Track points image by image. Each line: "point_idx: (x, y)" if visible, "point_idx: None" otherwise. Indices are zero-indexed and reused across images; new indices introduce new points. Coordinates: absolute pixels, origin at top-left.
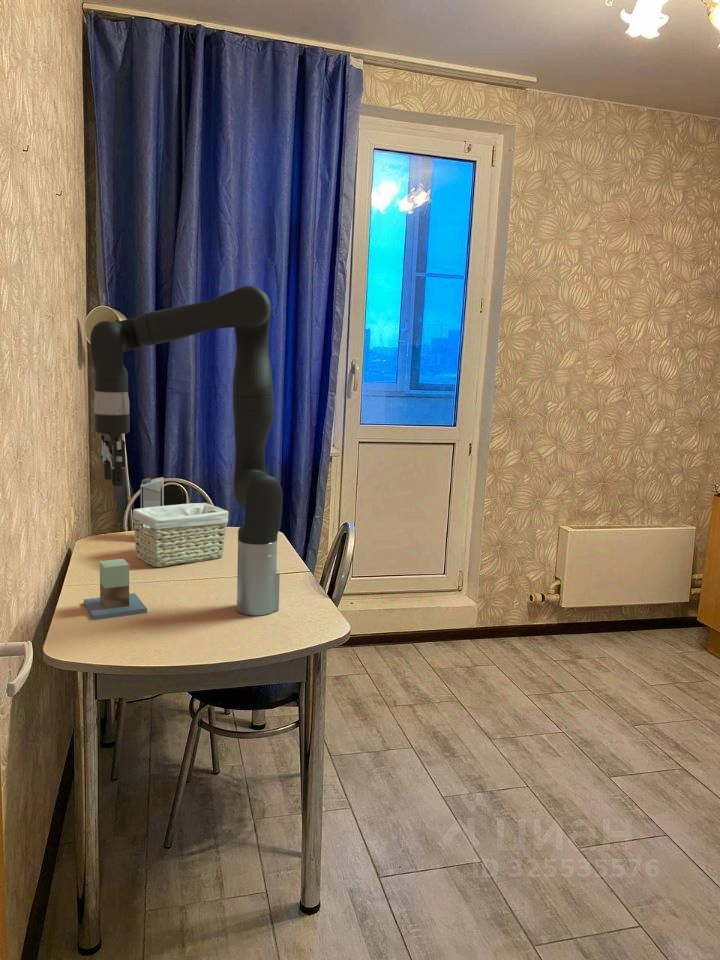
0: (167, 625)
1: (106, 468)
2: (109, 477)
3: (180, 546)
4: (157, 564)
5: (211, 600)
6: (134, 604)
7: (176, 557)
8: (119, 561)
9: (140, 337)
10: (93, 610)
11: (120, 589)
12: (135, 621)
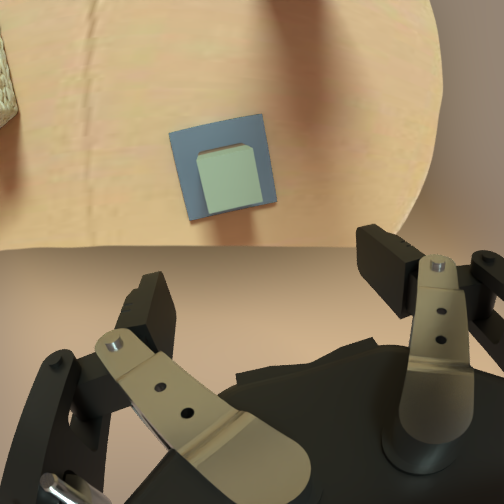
0: (327, 91)
1: (168, 346)
2: (167, 297)
3: None
4: (16, 108)
5: (220, 7)
6: (235, 133)
7: (4, 76)
8: (219, 169)
9: None
10: None
11: None
12: (298, 135)
